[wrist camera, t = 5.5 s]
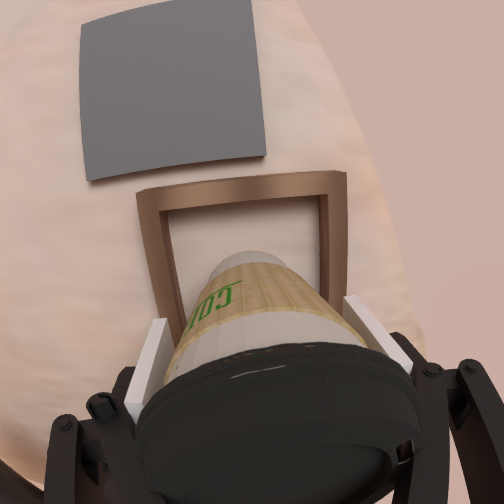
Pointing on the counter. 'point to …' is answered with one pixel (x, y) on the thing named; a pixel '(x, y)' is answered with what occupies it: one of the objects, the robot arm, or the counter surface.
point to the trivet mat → (169, 87)
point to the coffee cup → (275, 399)
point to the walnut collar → (235, 190)
